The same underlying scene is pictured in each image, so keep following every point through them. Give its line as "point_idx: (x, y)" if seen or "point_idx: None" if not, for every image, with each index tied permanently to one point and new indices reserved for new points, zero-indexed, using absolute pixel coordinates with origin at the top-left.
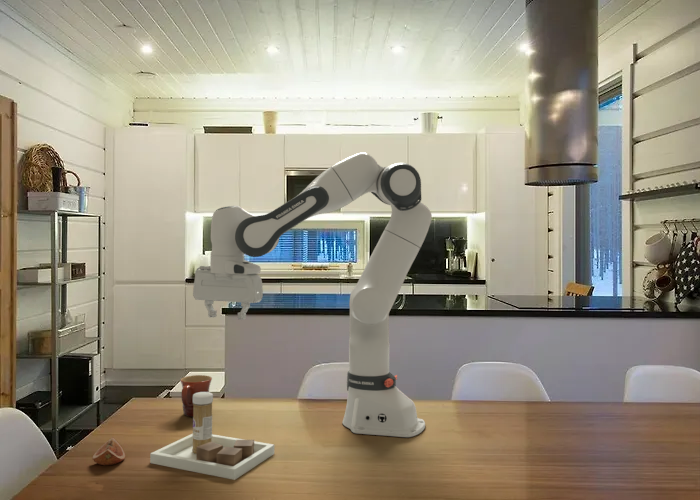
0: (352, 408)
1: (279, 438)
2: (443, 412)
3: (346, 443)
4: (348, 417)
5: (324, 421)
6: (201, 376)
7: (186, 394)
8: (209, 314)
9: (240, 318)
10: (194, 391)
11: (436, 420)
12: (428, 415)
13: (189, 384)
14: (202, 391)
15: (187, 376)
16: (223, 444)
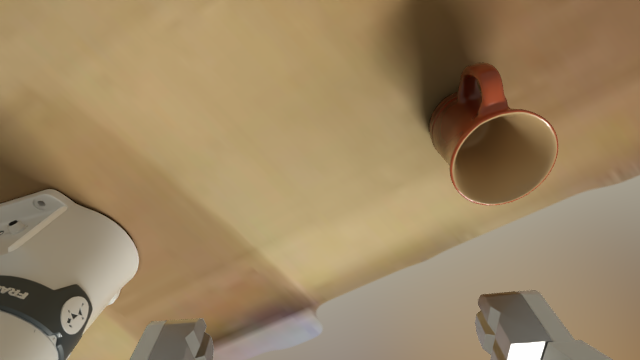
0: (44, 234)
1: (149, 80)
2: None
3: (12, 131)
4: (78, 224)
5: (163, 221)
6: (508, 197)
7: (472, 71)
8: (532, 306)
9: (167, 322)
10: (471, 116)
11: None
12: None
13: (494, 110)
14: (452, 135)
15: (549, 168)
16: None
